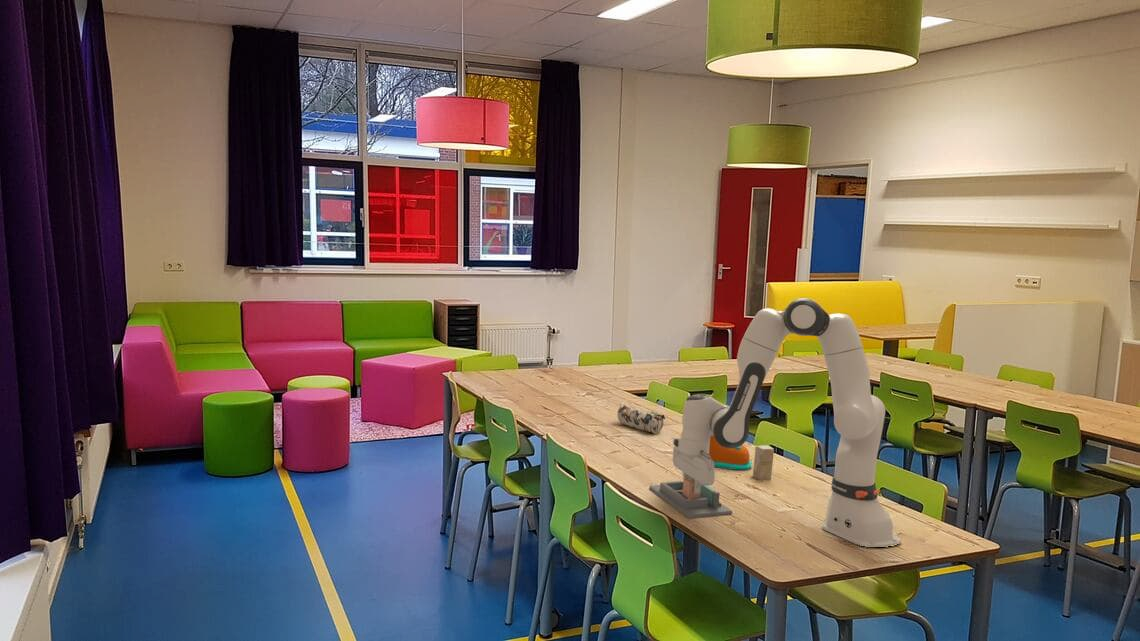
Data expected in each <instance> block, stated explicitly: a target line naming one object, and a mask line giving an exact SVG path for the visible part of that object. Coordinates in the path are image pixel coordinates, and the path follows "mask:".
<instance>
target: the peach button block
mask: <svg viewBox="0 0 1140 641" xmlns="http://www.w3.org/2000/svg"><path fill="white" fill-rule="evenodd" d="M682 482H683V491H682V494H683V495H684V496H686V497H687V498H688V499H690V498H700V493H699V494H695V493H694V492H693V491H692V490H693V487H694V486H695V480H694V479H693V478H691V477H689V478H685V479H684V478H683V479H682ZM700 492H701V488H700Z"/></svg>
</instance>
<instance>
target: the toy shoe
mask: <svg viewBox="0 0 1140 641" xmlns="http://www.w3.org/2000/svg"><path fill="white" fill-rule="evenodd" d="M709 455H710V456H711V459H712V460H713V462H714V468H721V469H727V468H728V469H730V470H736V469H738V470H737V471H740V470H741V471H743V470H744V471H745V470H748V469H750V468H751V466H752V464H753V463H752V461H751V460H750V457H751V456H750V452H749V449H748V448H747V447H746V446H745V445H744V444H742V445H741V446H739V447H737V448H725V447H723V446H721V445H720V444H718V442H717V441H716V439H715V437H714V436H710V447H709Z"/></svg>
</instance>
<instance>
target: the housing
mask: <svg viewBox="0 0 1140 641" xmlns="http://www.w3.org/2000/svg"><path fill="white" fill-rule="evenodd" d="M649 490H650V491H652V492H653V493H654V492H655V493H654V494H656V495H657V496H658V495H659V496H658V497H659V498H661V499H662V500H664V502H666V503H668V504H669V505H670V506H672V507H673V509H675V510H677V511H678V512H679V513H680V514H682V515H683V516H685V517H686V518H687V519H693V518H694V519H695V518H704V517H714V516H715V517H717V516H725V515H733V510H732V509H730V508H729V507H727V506H726V505H725V504H723V503H722V502H720V492H719V491H716V492H713V496H712V505H710V504H709V503H708V499H707V498H690V499H688V498H687V497H686V496H684V495H683V494H682V491H683V480H677V481H674V480H673V481H662V482H660V484H654V485H653V484H652V485H649Z"/></svg>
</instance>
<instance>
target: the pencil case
mask: <svg viewBox="0 0 1140 641" xmlns="http://www.w3.org/2000/svg"><path fill="white" fill-rule="evenodd" d="M616 417H617V419H618V421H619V422H620V423H621V424H623V425H625V426H627V427H630V428H633V429H637V430H640V431H643V432H647V433H650V434H653V435H659V434H660V433H661V431H662V429H663V427H664V420H666V417H665V415H664V414H661V413H659V411H654V410H651V411H649V410H646V409H642V408H637V407H632V406H631V405H629V404H628V403H625V402H622V403H620V404H619V407H618V409H617V416H616Z"/></svg>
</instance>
